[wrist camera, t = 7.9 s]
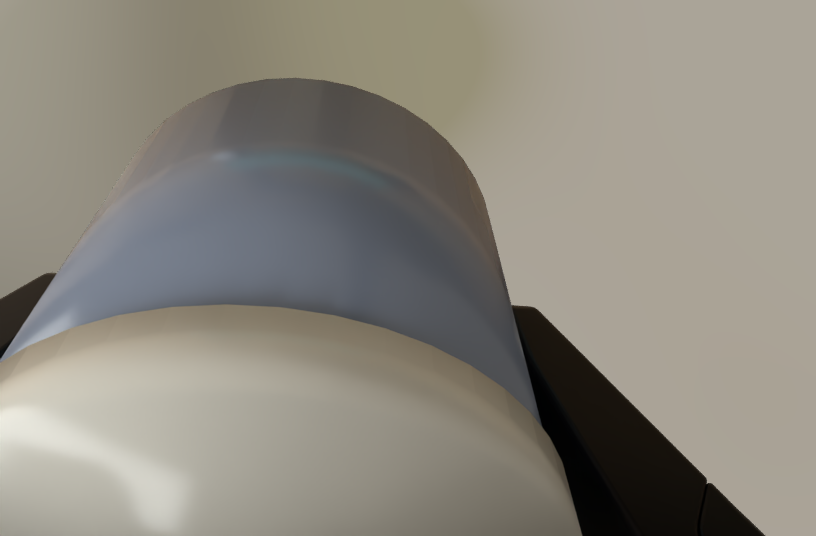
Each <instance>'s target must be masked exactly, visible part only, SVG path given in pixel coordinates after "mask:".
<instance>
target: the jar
mask: <svg viewBox="0 0 816 536" xmlns="http://www.w3.org/2000/svg"><path fill="white" fill-rule="evenodd" d="M0 536H582V533H581V529H580V526H579V522H578V518H577V515H576V511H575V507H574V504H573V500H572V496H571V492H570V489H569V485H568V481H567V478H566V474H565V470H564V466H563V463H562V461H561V459H560V457H559V455H558V453H557V451H556V449H555V447H554V445H553V443H552V441H551V439H550V437H549V436H548V434H547V433H546V432H545V431H544V429H543V428H542V424H541V420H540V416H539V412H538V408H537V405H536V401H535V397H534V393H533V389H532V385H531V381H530V377H529V373H528V369H527V365H526V361H525V357H524V353H523V349H522V345H521V341H520V337H519V333H518V329H517V325H516V322H515V318H514V314H513V310H512V306H511V302H510V298H509V294H508V290H507V286H506V282H505V278H504V274H503V270H502V267H501V262H500V258H499V254H498V251H497V246H496V243H495V239H494V235H493V231H492V227H491V223H490V219H489V215H488V212H487V208H486V204H485V200H484V197H483V195H482V193H481V191H480V188H479V186H478V184H477V182H476V179H475V177H474V176H473V174H472V173H471V171H470V170H469V168H468V166H467V165H466V163H465V162H464V160H463V159H462V157H461V156H460V155H459V154H458V153H457V152H456V150H455V149H454V148H453V147H452V146H451V145H450V144H449V142H447V140H446V139H445V138H444V137H442V136H441V135H440V134H439V133H438V132H437V131H436V130H435V129H433V128H432V127H431V126H430V125H429V124H428V123H426V122H425V121H423V120H422V119H420V118H419V117H417V116H416V115H414V114H413V113H411V112H410V111H408V110H407V109H405V108H404V107H402V106H400V105H398V104H396V103H394V102H391V101H389V100H387V99H385V98H383V97H381V96H379V95H376V94H373V93H370V92H368V91H365V90H362V89H358V88H356V87H353V86H349V85H344V84H339V83H334V82H330V81H325V80H313V79H301V78H286V79H285V78H284V79H265V80H259V81H254V82H248V83H243V84H237V85H234V86H231V87H228V88H225V89H222V90H219V91H216V92H213V93H210V94H208V95H206V96H204V97H202V98H200V99H198V100H196V101H194V102H192V103H189V104H188V105H186V106H185V107H183V108H182V109H180V110H179V111H178V112H176V113H174V114H173V115H172V116H170V117H169V118H167V119H166V120H165V121H164V122H163V123H162V124H161V125H160V126H159V127H158V128H157V129H155V130H154V131H153V132H152V133H151V134H150V135H149V136H148V138H147V139H146V140H145V142H144V143H143V144H142V146H141V147H140V148H139V149H138V151H137V152H136V154H135V155H134V156H133V158H132V159H131V161H130V163H129V164H128V166H127V167H126V169H125V170H124V172H123V173H122V175H121V176H120V178H119V179H118V181H117V182H116V184H115V185H114V187H113V188H112V190H111V192H110V193H109V195H108V196H107V198H106V199H105V201H104V202H103V204H102V205H101V207H100V208H99V210H98V211H97V213H96V214H95V216H94V217H93V219H92V220H91V222H90V224H89V225H88V227H87V228H86V230H85V231H84V233H83V234H82V236H81V237H80V239H79V240H78V242H77V243H76V245H75V247H74V248H73V250H72V251H71V253H70V254H69V256H68V257H67V259H66V260H65V262H64V263H63V265H62V266H61V268H60V269H59V271H58V272H57V274H56V275H55V277H54V278H53V280H52V281H51V283H50V285H49V286H48V288H47V289H46V291H45V292H44V294H43V295H42V297H41V298H40V300H39V301H38V303H37V304H36V306H35V307H34V309H33V310H32V312H31V314H30V315H29V317H28V318H27V320H26V321H25V323H24V324H23V326H22V327H21V329H20V330H19V332H18V333H17V335H16V336H15V338H14V339H13V341H12V342H11V344H10V346H9V347H8V349H7V350H6V352H5V353H4V355H3V356H2V358H1V359H0Z"/></svg>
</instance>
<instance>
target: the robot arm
mask: <svg viewBox="0 0 816 536" xmlns="http://www.w3.org/2000/svg"><path fill="white" fill-rule="evenodd" d="M56 274H57V273H46V274H44V275H42V276H40V277H38V278H36V279H35V280H33V281H31V282H29V283H28V284H26V285H24V286H23V287H21V288H19V289H17V290H15V291H14V292H12V293H10V294H8V295H7V296H5V297H3V298H1V299H0V359H1V358H2V356H3V355H4V353H5V352H6V350H7V349H8V347H9V346H10V344H11V342H12V341H13V339H14V338H15V336H16V335H17V333H18V332H19V330H20V329H21V327H22V326H23V324H24V323H25V321H26V320H27V318H28V317H29V315H30V314H31V312H32V310H33V309H34V307H35V306H36V304H37V303H38V301H39V300H40V298H41V297H42V295H43V294H44V292H45V291H46V289H47V288H48V286H49V285H50V283H51V281H52V280H53V278H54V277H55V275H56ZM511 306H512V310H513V314H514V318H515V322H516V325H517V329H518V333H519V337H520V341H521V345H522V349H523V353H524V357H525V361H526V365H527V369H528V373H529V377H530V381H531V385H532V389H533V393H534V397H535V401H536V405H537V408H538V412H539V416H540V420H541V424H542V428H543V429H544V431H545V432H546V433H547V434H548V436H549V437H550V439H551V441H552V443H553V445H554V447H555V449H556V451H557V453H558V455H559V457H560V459H561V461H562V463H563V466H564V470H565V474H566V478H567V481H568V485H569V489H570V492H571V496H572V500H573V504H574V507H575V511H576V515H577V518H578V522H579V526H580V529H581V533H582V536H765V535H764V534H763V533H762V532H761V531H760V530H759V529H758V528H757V527H756V526H755V525H754V524H753V523H752V522H751V521H750V520H749V519H747V518H746V517H745V516H744V515H743V514H742V513H741V512H740V511H739V510H738V509H737V508H736V507H735V506H734V505H733V504H732V503H731V502H730V501H729V500H728V499H727V498H726V497H725V496H724V495H723V494H722V493H721V492H720V491H719V490H718V489H717V488H716V487H715V486H714V485H713V484H711V483H708V484H707V479H706V477H705V476H704V475H703V474H702V473H701V472H700V471H699V470H698V469H697V468H696V467H695V466H694V465H692V463H691V462H689V460H688V459H686V457H685V456H684V455H683V454H682V453H681V452H680V451H679V450H677V449H676V447H674V446H673V444H672V443H671V442H669V441H668V439H666V437H664V435H663V434H662V433H661V432H659V430H658V429H657V428H655V426H654V425H653V424H652V423H651V422H650V421H649V420H648V419H647V418H646V417H644V415H643V414H642V413H641V412H640V411H639V410H638V409H637V408H635V406H634V405H632V403H630V402H629V400H628V399H626V398H625V396H624V395H623V394H621V392H619V391H618V390H617V389H616V387H615V386H614V385H613V384H611V383H610V382H609V381H608V380H607V378H606V377H605V376H604V375H603V374H602V373H600V372H599V371H598V369H596V368H595V366H594V365H593V364H592V363H590V362H589V360H588V359H587V358H585V356H584V355H583V354H582V353H580V352H579V350H578V349H576V347H575V346H574V345H572V343H571V342H570V341H568V339H566V338H565V336H564V335H562V334H561V333H560V332H559V331H558V330H557V329H556V328H555V327H554V326H553V325H552V324H551V323H550V322H549V321H548V320H547V319H546V318H545V317H544V316H543V315H542V314H541V313H540V312H539V311H538V310H537V309H536V308H534V307H528V306H514V305H511Z"/></svg>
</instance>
